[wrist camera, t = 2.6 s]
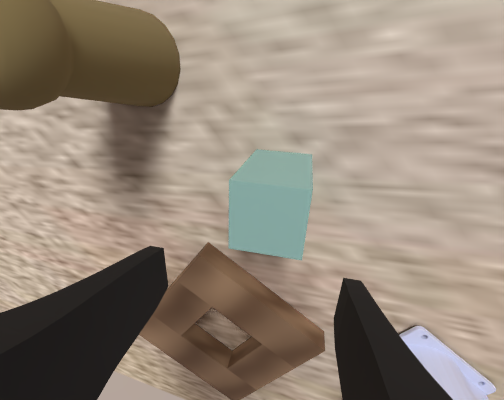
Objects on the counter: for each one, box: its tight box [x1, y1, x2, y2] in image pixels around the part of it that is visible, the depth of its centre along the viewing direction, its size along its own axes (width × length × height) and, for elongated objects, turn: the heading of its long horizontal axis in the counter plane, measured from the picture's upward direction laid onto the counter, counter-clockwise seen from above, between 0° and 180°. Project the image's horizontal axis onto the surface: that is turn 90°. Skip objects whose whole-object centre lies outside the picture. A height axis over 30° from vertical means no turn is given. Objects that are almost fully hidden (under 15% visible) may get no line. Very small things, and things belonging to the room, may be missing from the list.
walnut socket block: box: [139, 242, 325, 400], centre depth 26 cm, size 14×14×2 cm
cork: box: [0, 0, 180, 110], centre depth 13 cm, size 6×6×11 cm
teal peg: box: [229, 149, 313, 260], centre depth 16 cm, size 4×4×7 cm
